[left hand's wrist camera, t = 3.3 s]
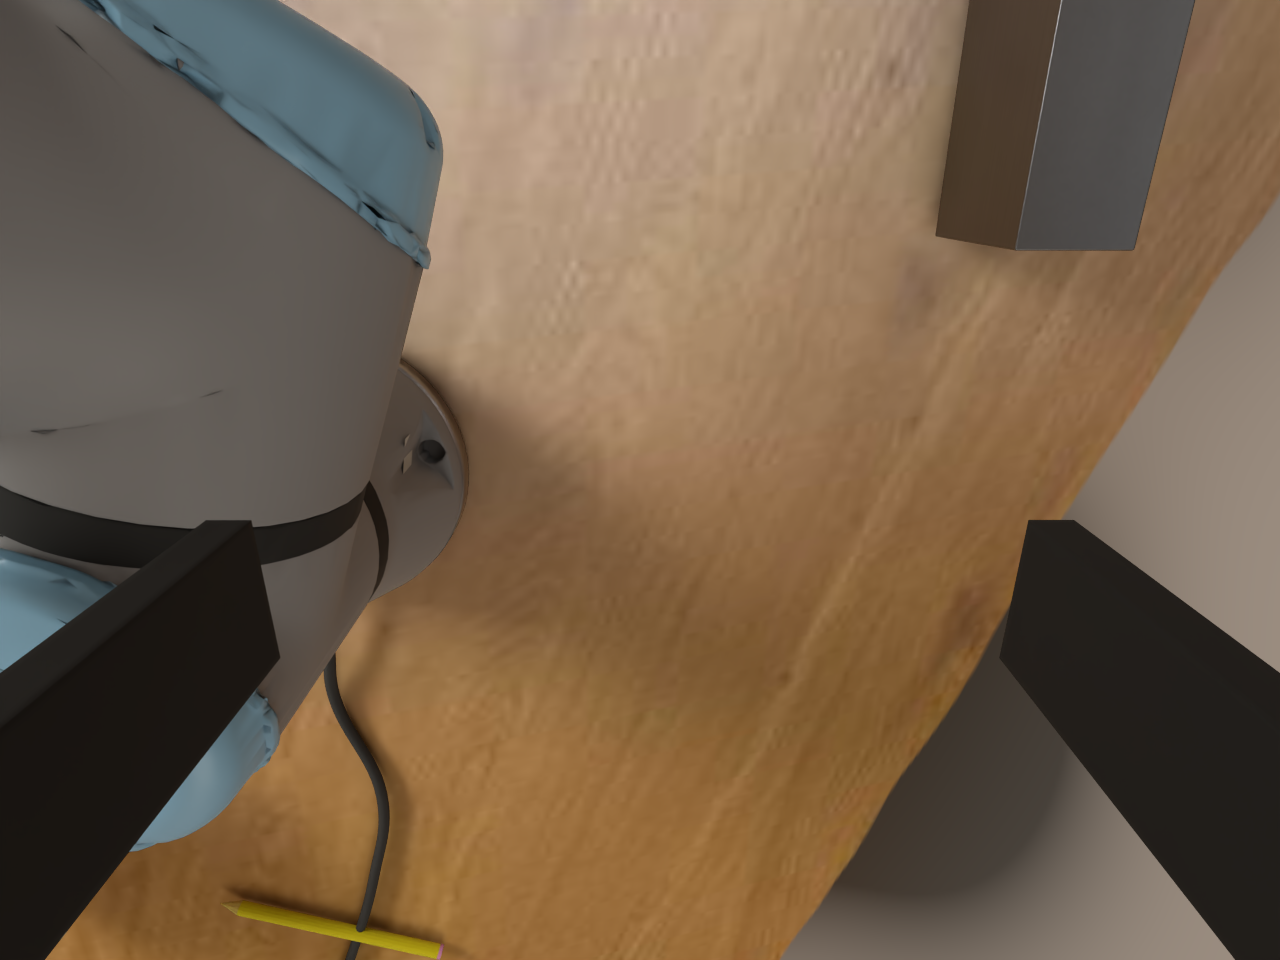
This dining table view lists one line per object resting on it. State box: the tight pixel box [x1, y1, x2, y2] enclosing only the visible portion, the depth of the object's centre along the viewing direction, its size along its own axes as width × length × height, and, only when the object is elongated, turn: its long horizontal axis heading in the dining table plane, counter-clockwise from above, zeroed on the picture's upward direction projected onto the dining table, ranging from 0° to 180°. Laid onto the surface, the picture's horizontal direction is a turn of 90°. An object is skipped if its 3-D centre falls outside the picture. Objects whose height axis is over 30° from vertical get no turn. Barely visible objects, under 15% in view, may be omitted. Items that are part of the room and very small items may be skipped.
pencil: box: [220, 900, 444, 960], centre depth 54 cm, size 16×1×1 cm, turn 72°
